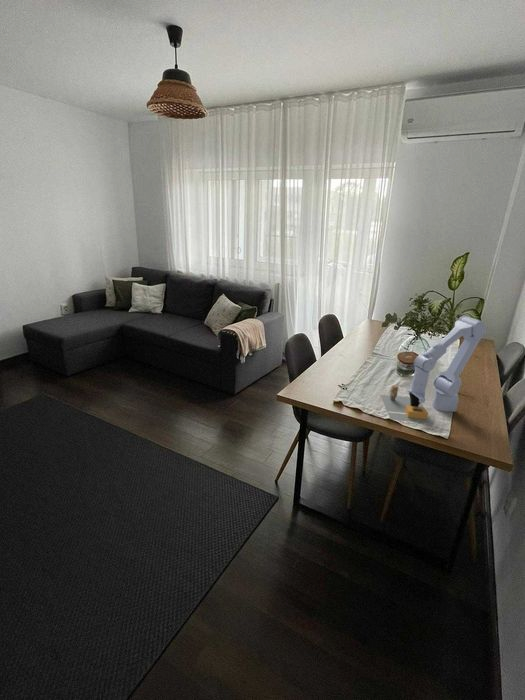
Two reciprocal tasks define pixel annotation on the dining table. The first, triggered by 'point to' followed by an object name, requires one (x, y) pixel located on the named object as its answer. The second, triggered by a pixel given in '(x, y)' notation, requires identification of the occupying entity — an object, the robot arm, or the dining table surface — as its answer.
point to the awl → (393, 392)
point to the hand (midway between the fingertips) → (413, 408)
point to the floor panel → (401, 409)
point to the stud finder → (416, 412)
